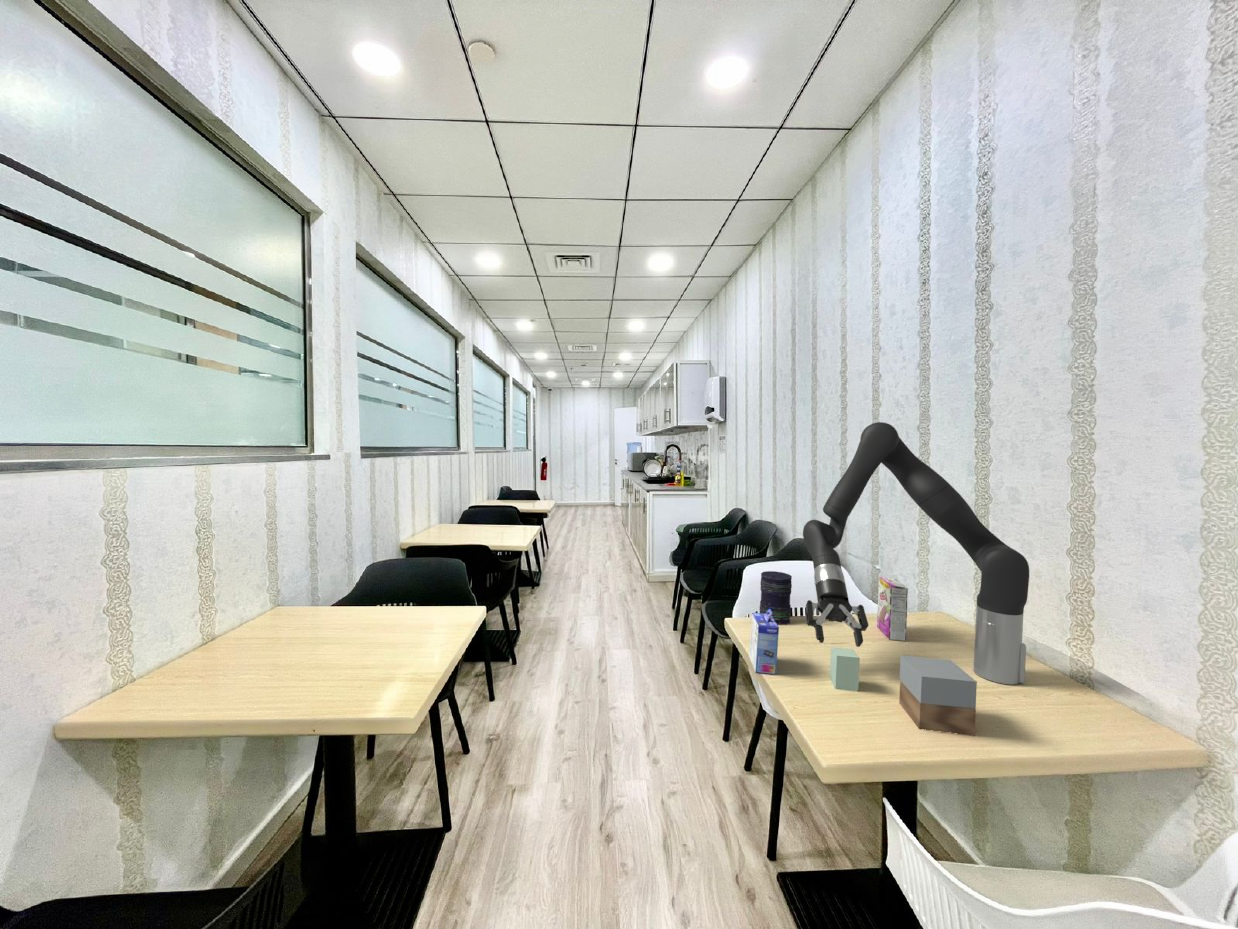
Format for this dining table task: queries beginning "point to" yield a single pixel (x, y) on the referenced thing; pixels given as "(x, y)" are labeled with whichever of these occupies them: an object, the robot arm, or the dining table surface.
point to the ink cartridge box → (764, 643)
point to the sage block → (844, 669)
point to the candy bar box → (892, 608)
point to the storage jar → (776, 595)
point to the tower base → (937, 715)
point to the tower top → (938, 682)
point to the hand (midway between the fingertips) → (840, 643)
